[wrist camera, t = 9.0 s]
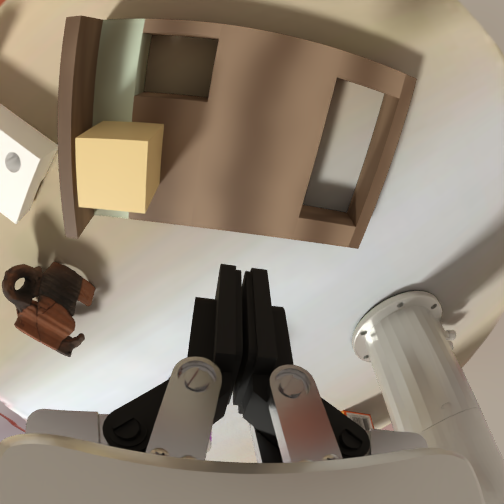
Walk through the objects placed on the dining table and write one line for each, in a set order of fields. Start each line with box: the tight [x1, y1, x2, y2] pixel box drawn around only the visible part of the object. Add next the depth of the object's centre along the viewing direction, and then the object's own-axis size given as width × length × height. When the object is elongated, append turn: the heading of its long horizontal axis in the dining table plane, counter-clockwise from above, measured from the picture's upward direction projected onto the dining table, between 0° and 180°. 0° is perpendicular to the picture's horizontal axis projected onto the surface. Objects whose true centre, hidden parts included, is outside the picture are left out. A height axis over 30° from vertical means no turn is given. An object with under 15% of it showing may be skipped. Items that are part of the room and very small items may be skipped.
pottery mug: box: [2, 262, 95, 357], centre depth 28 cm, size 12×10×8 cm
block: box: [75, 121, 164, 214], centre depth 19 cm, size 4×4×4 cm
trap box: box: [58, 16, 417, 249], centre depth 20 cm, size 23×15×6 cm, turn 79°
